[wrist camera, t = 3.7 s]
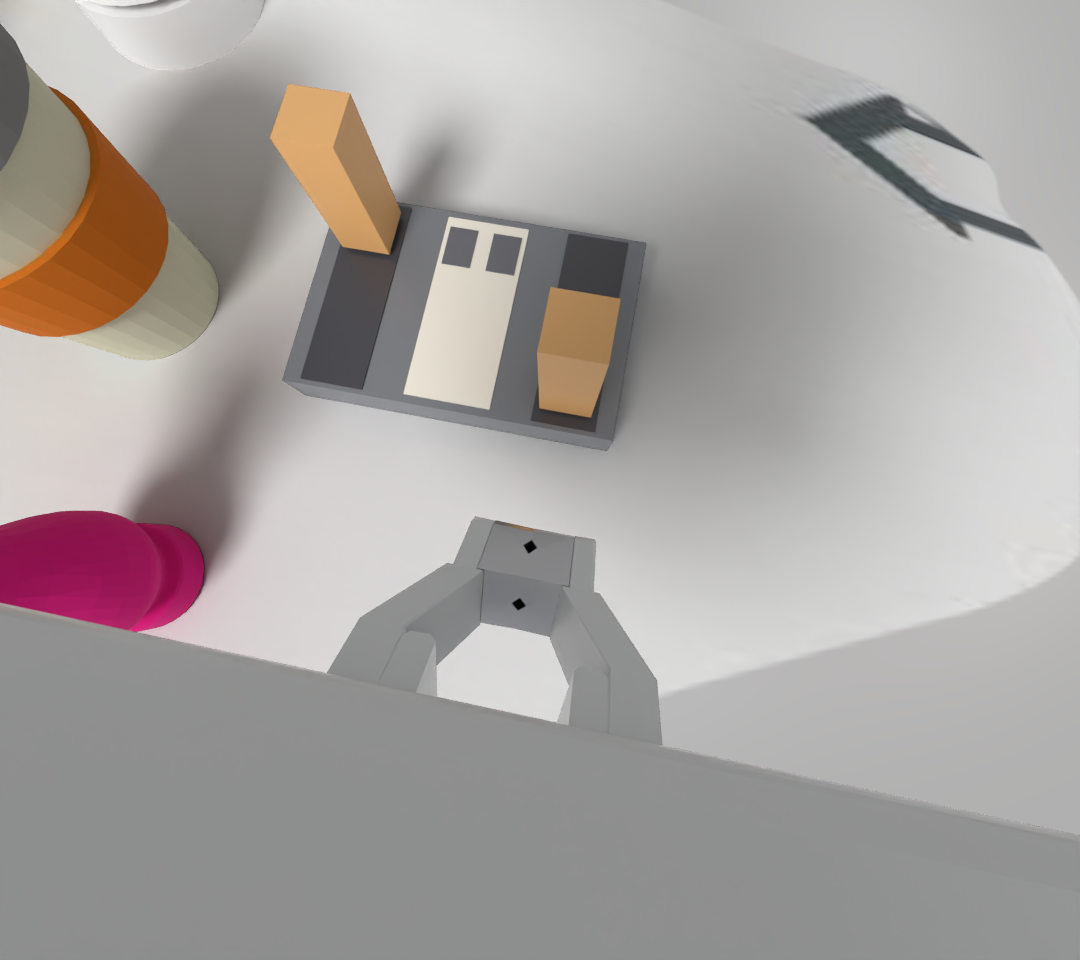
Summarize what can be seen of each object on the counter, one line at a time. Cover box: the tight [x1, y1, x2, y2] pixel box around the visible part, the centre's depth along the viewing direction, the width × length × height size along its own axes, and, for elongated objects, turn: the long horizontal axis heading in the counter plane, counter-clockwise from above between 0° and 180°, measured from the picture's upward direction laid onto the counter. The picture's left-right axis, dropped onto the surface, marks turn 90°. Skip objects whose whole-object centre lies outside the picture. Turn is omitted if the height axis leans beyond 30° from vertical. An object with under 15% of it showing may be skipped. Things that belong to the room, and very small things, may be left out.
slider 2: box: [537, 287, 621, 418], centre depth 21 cm, size 3×3×7 cm
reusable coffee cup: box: [0, 24, 219, 360], centre depth 21 cm, size 13×13×15 cm
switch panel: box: [282, 202, 646, 451], centre depth 27 cm, size 13×20×3 cm, turn 79°
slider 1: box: [270, 84, 401, 255], centre depth 23 cm, size 3×3×7 cm
